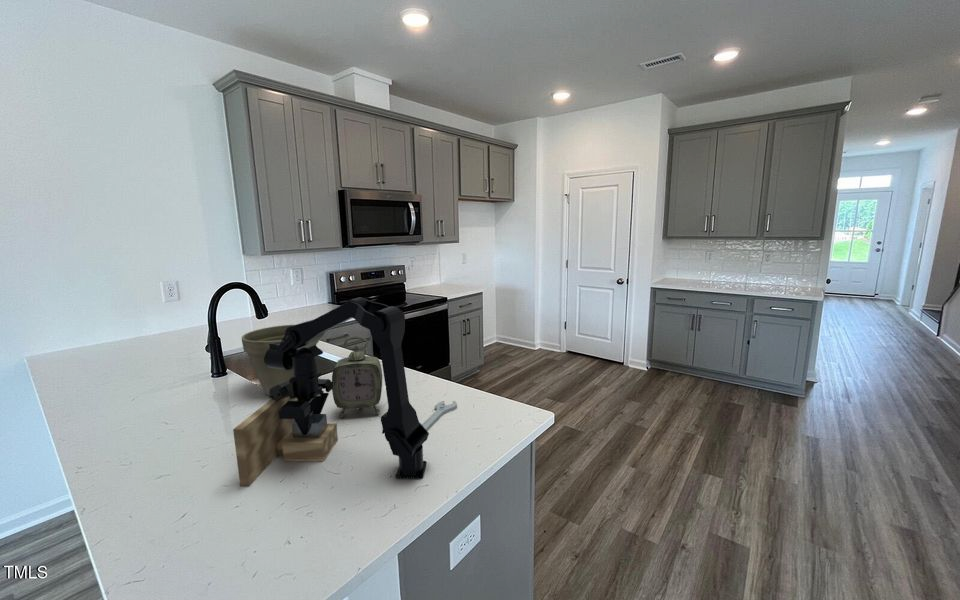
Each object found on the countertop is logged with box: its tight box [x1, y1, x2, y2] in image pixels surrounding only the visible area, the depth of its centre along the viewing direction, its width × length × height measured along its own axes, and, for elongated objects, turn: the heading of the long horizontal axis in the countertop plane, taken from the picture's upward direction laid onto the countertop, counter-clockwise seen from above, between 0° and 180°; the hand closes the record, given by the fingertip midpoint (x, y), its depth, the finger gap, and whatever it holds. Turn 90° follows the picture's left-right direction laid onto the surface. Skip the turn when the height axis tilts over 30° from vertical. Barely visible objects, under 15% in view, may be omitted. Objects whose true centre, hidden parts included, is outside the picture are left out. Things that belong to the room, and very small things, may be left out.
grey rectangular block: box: [292, 413, 328, 438], centre depth 104 cm, size 5×7×8 cm
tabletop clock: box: [331, 336, 383, 419], centre depth 124 cm, size 14×9×25 cm, turn 101°
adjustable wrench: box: [421, 400, 458, 432], centre depth 121 cm, size 25×6×2 cm, turn 154°
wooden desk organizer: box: [232, 397, 339, 487], centre depth 104 cm, size 30×15×14 cm, turn 179°
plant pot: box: [241, 324, 320, 396], centre depth 144 cm, size 25×25×22 cm
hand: (310, 428), depth 104 cm, fingers open, 6 cm apart
